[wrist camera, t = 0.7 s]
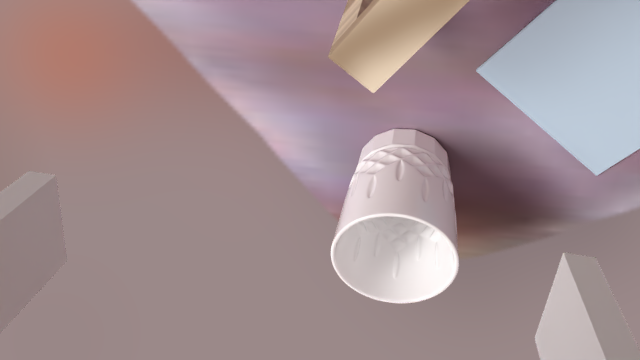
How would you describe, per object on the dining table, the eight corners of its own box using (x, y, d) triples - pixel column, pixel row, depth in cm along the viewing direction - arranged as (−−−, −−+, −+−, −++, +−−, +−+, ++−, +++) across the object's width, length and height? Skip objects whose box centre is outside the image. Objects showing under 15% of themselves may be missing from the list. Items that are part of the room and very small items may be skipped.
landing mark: (646, -79, 32) (647, -78, 31) (773, 60, 35) (775, 62, 35) (476, 69, 38) (476, 71, 38) (596, 174, 42) (596, 175, 42)
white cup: (363, 109, 42) (343, 200, 34) (472, 134, 42) (477, 232, 34) (343, 191, 47) (321, 287, 39) (440, 214, 47) (437, 315, 39)
